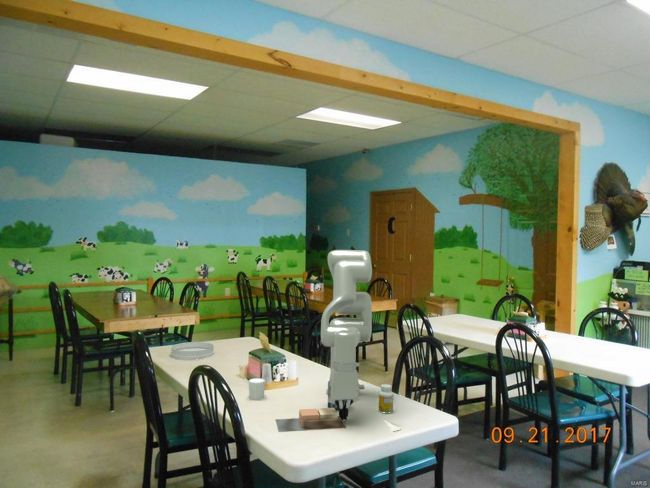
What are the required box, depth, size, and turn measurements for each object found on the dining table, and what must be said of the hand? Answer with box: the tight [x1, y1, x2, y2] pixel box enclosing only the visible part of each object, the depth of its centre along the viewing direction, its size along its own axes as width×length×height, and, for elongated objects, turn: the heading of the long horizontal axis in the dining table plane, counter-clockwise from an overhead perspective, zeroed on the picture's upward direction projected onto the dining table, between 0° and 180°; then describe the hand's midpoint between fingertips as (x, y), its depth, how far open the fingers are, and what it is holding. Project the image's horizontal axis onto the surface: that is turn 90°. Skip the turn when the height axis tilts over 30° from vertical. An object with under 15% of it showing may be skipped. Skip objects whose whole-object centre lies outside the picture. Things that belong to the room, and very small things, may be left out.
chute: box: [275, 415, 347, 433], centre depth 170 cm, size 23×11×4 cm, turn 101°
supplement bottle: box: [378, 383, 394, 414], centre depth 186 cm, size 5×5×10 cm
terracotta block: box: [298, 408, 319, 428], centre depth 170 cm, size 6×6×4 cm
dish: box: [170, 341, 215, 361], centre depth 265 cm, size 22×22×5 cm
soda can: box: [327, 381, 345, 411], centre depth 187 cm, size 7×7×12 cm
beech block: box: [317, 407, 339, 420], centre depth 171 cm, size 6×6×4 cm
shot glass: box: [248, 377, 266, 401], centre depth 199 cm, size 7×7×7 cm
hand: (343, 418), depth 172 cm, fingers closed
